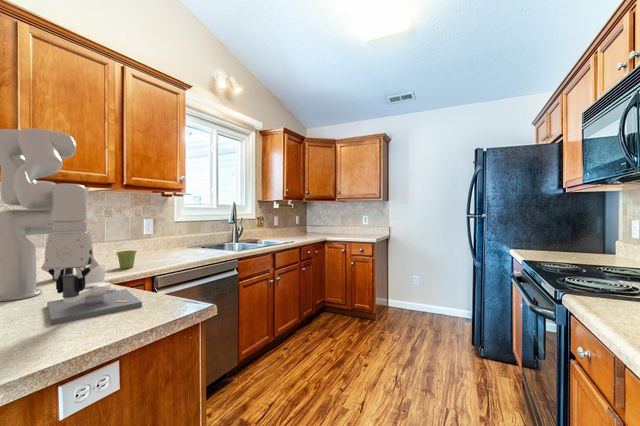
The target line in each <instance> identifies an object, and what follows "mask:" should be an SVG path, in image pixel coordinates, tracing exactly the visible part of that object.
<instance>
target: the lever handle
mask: <svg viewBox="0 0 640 426" xmlns="http://www.w3.org/2000/svg"><path fill="white" fill-rule="evenodd" d="M76 278H77V273H73V274H68V275H63V276H62V282H63V292H62V299H64V303H67V302H75V301H77V300H79V299H81V298H83V297H94V296H100V295H104V294H107V293H114V292H116V291H117V288H112V283H111V282H107V281H106V282H105V281H104V282H98V283H90V284H85V288H84V290H82V291H80V292H75V279H76Z"/></svg>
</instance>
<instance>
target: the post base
mask: <svg viewBox="0 0 640 426" xmlns="http://www.w3.org/2000/svg"><path fill="white" fill-rule="evenodd" d="M46 303H47V304H46V307H47V312H48V317H49V321H50V325H51V326H53V325H57V323H58V324H62V323H68V322H72V321H77V320H82V319H86V318H87V319H88V318H90V317H96V316H100V315H101V316H102V315H106V314H112V313H116V312H121V311H126V310H131V309H136V308H140V307H141V308H142V307H143V302H142V301H141V300H140V299H139V298H138V297H136V296H135V295H134V294H133V293H132V292H130V291H129V290H128V289H127V288H124V289H118V290H117V289H116V292H114V293H107V294H104V295H100V296H94V297H83V298H81V299H79V300H77V301H75V302H67V303H64V298H62V299H58V300H51V301H47V302H46ZM52 324H53V325H52Z"/></svg>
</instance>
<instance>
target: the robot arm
mask: <svg viewBox="0 0 640 426" xmlns="http://www.w3.org/2000/svg"><path fill="white" fill-rule="evenodd" d="M76 151H77V144H76V141H75V140H74V137H72V136H71V135H70V134H68V133H67V132H61V131H55V130H50V129H46V128H45V129H44V128H36V127H27V128H23V129H21V130H20V129H14V128H13V129H11V128H1V129H0V198H1V201H2V202H3V203H4V204H5V205H9V206H18V207H21V206H22V207H23V208H24V209H22V208H21V209H19V208H17V209H16V208H15V209H5V210H2V211H0V302H6V301H10V302H11V301H16V300H18V301H19V300H23V299H28V298H29V299H30V298H32V297H36V296H38V295H41V294H42V292H43V289H41V288H37V262H36V261H37V260H36V259H37V258H36V257H37V255H36V250H37V249H36V246H35V244H34V243H33V241H31V240H30V239H29V238H28V237H27V236H34V235H35V236H36V235H47V239H46V242H45V250H44V263H43V264H42V265H41V267H40V269H41V270H42V271H45V272H46V273H48V274H49V275H51V276H53V277H54V279H56V280H55V290H56V293H57V294H63V282H62V276H63V275H65V269H66V268H73V269H75V272H76V274H77V278H76V279H75V292H80V291H82V290H84V288H85V276H87V274H88V273H89V272H90V271H91V270H93V269H95V268H97V267H98V266H99V265H100V264H99V263H98V262H97V260H96V259H95V257H94V247H93V242H92V241H93V240H92V237H91V234H90V231H87V230H88V224H87V222H88V221H87V218H88V217H87V189H86V187H85V186H84V185H82V184H78V183H55V182H53V181H49V180H37V179H41V178H44V177H45V178H46V177H49V176H52V175H55V174H57V173H59V172H60V171H61V170H62V168H63V160H62V159H70V158H72V157H74V155H75V153H76ZM86 266H89V267H87V268H86Z"/></svg>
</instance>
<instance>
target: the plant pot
mask: <svg viewBox="0 0 640 426" xmlns="http://www.w3.org/2000/svg"><path fill="white" fill-rule="evenodd" d="M115 253H116V255H117V257H118V262H119V268H120V269H123V270H124V269H127V268H128V269H133V268H134V266H135V258H136V254H137V250H123V251H122V250H121V251H117V252H115Z"/></svg>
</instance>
